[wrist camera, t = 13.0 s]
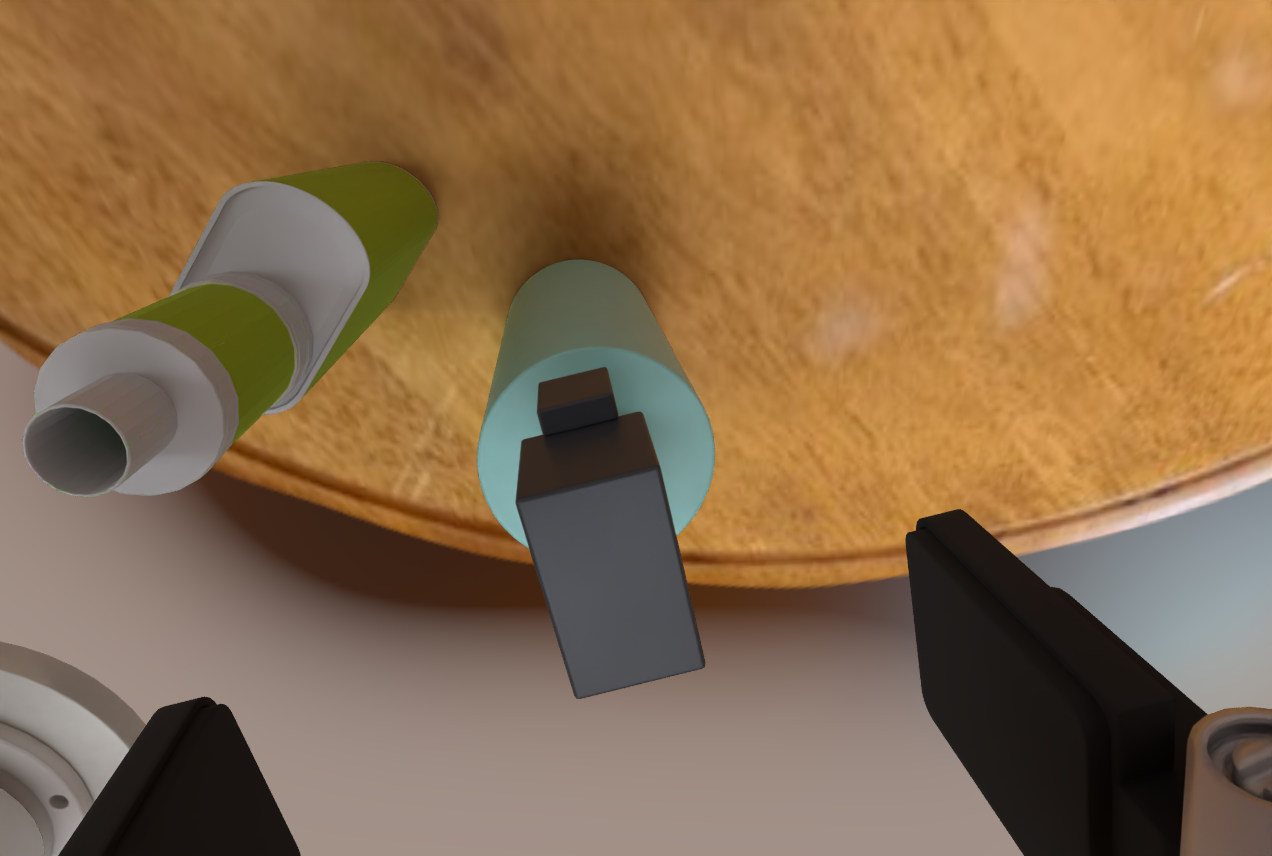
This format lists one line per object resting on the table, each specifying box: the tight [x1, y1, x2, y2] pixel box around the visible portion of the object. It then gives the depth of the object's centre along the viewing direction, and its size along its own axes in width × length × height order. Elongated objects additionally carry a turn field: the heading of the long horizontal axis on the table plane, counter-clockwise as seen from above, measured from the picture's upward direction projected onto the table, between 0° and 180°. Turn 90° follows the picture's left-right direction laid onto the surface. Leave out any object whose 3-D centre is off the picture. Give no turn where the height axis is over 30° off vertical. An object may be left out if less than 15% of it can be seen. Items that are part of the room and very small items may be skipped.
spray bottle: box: [477, 259, 715, 699], centre depth 24 cm, size 6×6×20 cm
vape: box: [22, 161, 438, 497], centre depth 22 cm, size 4×6×20 cm, turn 145°
